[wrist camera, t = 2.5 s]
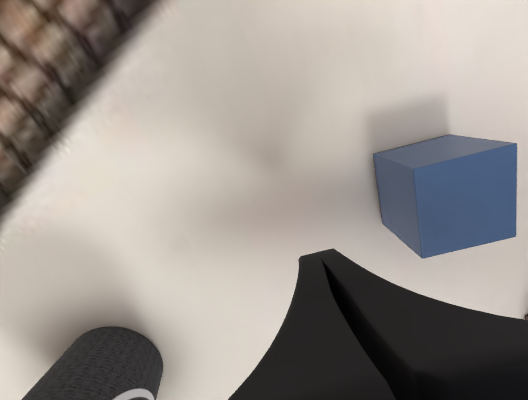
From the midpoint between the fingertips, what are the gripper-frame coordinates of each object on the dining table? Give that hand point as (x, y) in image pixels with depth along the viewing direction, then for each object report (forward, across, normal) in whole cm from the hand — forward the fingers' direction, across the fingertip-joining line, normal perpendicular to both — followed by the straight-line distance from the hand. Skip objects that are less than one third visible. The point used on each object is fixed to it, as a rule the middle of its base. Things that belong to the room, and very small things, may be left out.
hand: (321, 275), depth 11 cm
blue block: (+7, -7, 0) cm, 10 cm away
